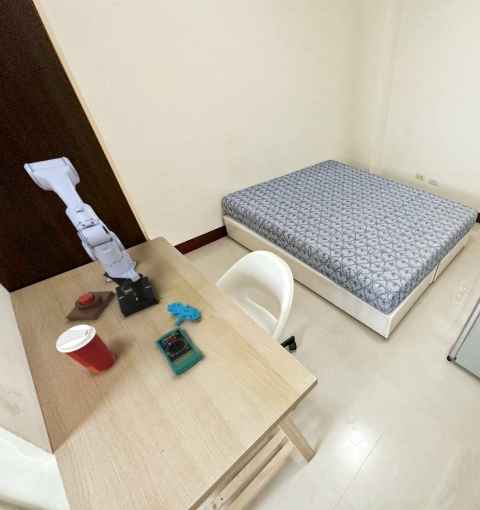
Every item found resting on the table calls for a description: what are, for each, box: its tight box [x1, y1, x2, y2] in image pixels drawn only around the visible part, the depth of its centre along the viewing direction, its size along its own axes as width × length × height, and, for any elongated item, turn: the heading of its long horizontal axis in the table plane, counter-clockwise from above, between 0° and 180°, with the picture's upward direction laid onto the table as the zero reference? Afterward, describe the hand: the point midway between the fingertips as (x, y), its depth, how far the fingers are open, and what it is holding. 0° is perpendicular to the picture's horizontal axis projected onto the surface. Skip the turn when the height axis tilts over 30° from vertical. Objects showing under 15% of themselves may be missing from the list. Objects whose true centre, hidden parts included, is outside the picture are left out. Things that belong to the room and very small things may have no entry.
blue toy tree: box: [166, 300, 201, 326], centre depth 85 cm, size 11×6×10 cm
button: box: [77, 292, 94, 305], centre depth 87 cm, size 4×4×2 cm
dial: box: [121, 284, 142, 298], centre depth 91 cm, size 5×5×4 cm
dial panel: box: [115, 275, 160, 318], centre depth 93 cm, size 14×10×3 cm
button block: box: [65, 290, 116, 322], centre depth 89 cm, size 11×8×4 cm
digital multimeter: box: [154, 327, 203, 376], centre depth 77 cm, size 7×15×3 cm, turn 48°
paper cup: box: [55, 324, 116, 374], centre depth 70 cm, size 8×8×14 cm
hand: (132, 288), depth 91 cm, fingers open, 7 cm apart
